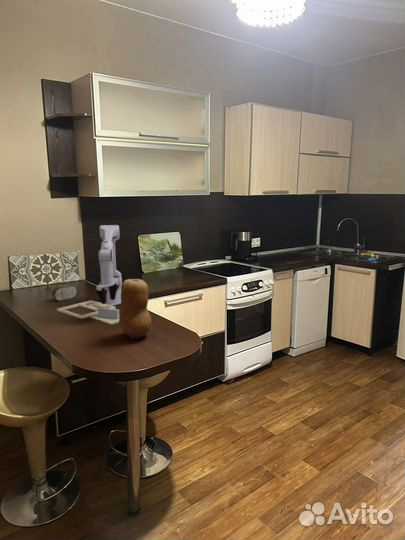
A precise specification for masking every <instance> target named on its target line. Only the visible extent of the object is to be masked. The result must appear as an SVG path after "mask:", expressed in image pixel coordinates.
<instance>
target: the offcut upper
mask: <svg viewBox="0 0 405 540" xmlns="http://www.w3.org/2000/svg"><path fill="white" fill-rule="evenodd" d="M88 306H92V307H95V308H99V307H104V308H107V307H106V306H104V305H101V304H97V303H89V304H88Z"/></svg>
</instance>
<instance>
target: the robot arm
mask: <svg viewBox="0 0 405 540" xmlns="http://www.w3.org/2000/svg"><path fill="white" fill-rule="evenodd" d="M99 237H100V238H101V240H102V241H101V243H100V245H101V246H100V250H99V251H98V261H99V266H100V282H99V284H98V285H96V289H95V292H96V294H97V295H98V297H99V300H100V303H101V304H107V305H111V306H117V305H119V304H120V305H121V286H122V284H123V282H122V281H123V278H122V273H121V272H120V271H119V270H117V262H116V261H117V260H116V241H118V240H119V239H120V226H119V225H118V224H111V225H110V224H109V225H108V224H106V225H105V224H103V225H102V224H100V226H99Z"/></svg>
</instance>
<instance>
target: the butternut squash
mask: <svg viewBox="0 0 405 540" xmlns="http://www.w3.org/2000/svg"><path fill="white" fill-rule="evenodd" d="M148 303H149V285H148V284H147V282H146V281H144V280H142V279H140V278H132V279H131V278H129V279H125V280H124V281H123V282H122V286H121V303H120V305H121V306H120V307H121V308H120V312H119V316H120V317H119V322H118V323H119V326H120V329H121V330H122V331H123V333H124V334H126V336H127V337H129V338H130V339H132V340H137V339H141V338H142V337H144V336H146V334H147V333H148V332H149V331H150V330H151V328H152V317H151V314H150V313H149V310H148Z"/></svg>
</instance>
